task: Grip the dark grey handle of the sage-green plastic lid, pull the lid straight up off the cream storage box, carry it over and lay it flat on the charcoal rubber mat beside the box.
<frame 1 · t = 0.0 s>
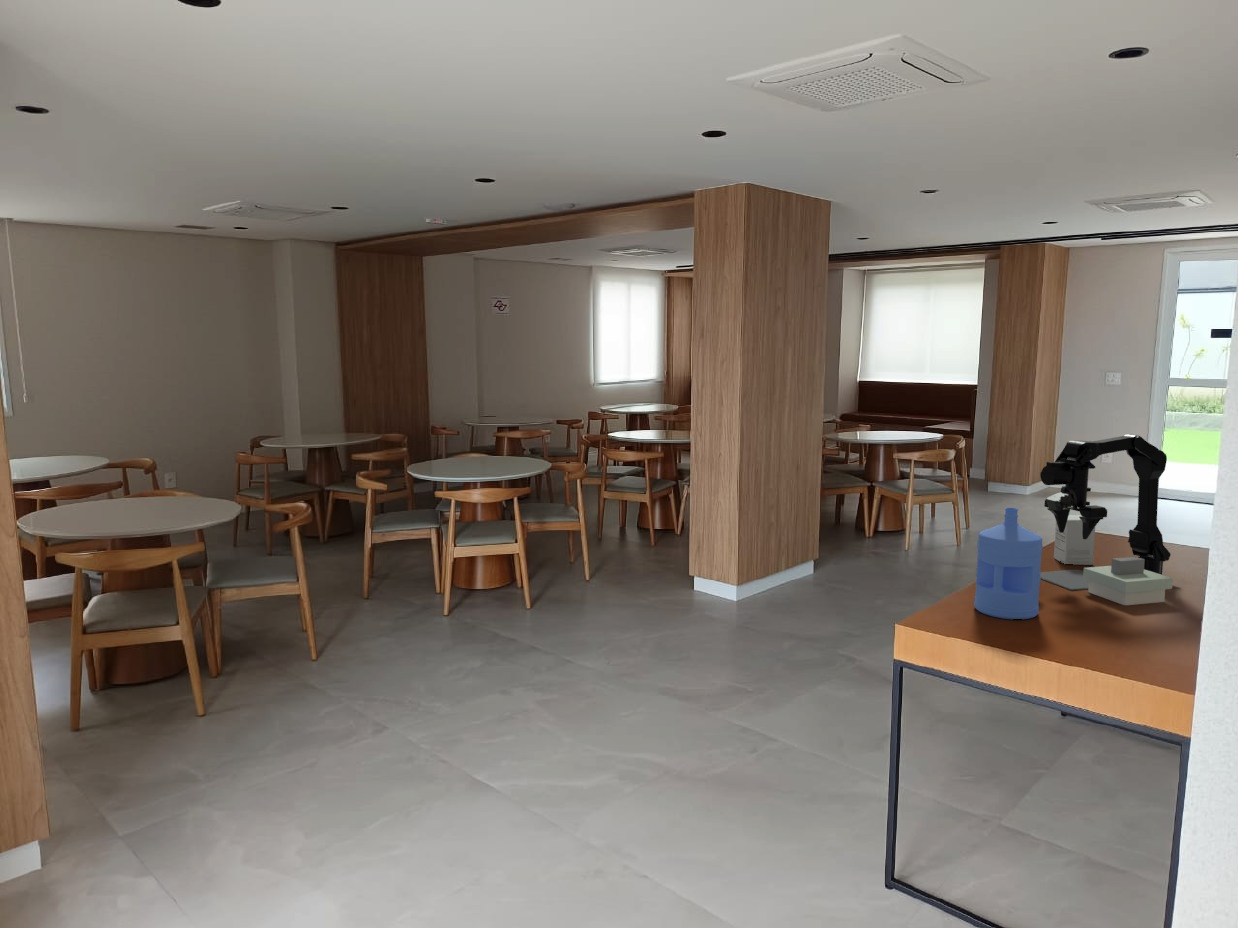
hand: (1072, 535, 246), 15 cm above the table, tool pointing down, fingers open, 9 cm apart
storage box: (1125, 596, 235), on the table
supplement box: (1072, 562, 274), on the table
mat: (1074, 580, 252), on the table
lid: (1126, 583, 234), point 4 cm above the table, touching storage box
water jug: (1005, 612, 223), on the table
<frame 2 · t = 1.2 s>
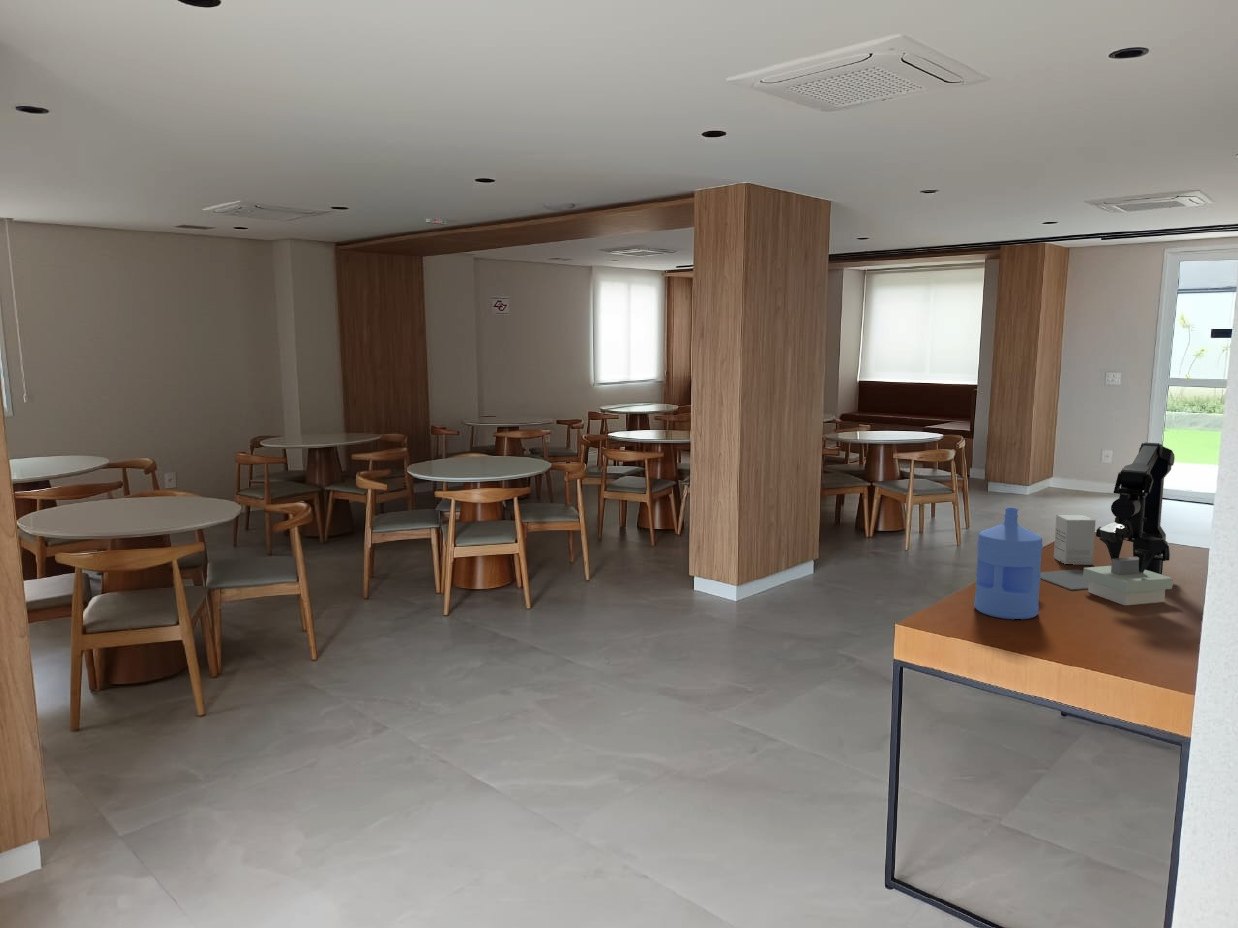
hand: (1127, 567, 234), 8 cm above the table, tool pointing down, fingers open, 9 cm apart
nothing on the table moved.
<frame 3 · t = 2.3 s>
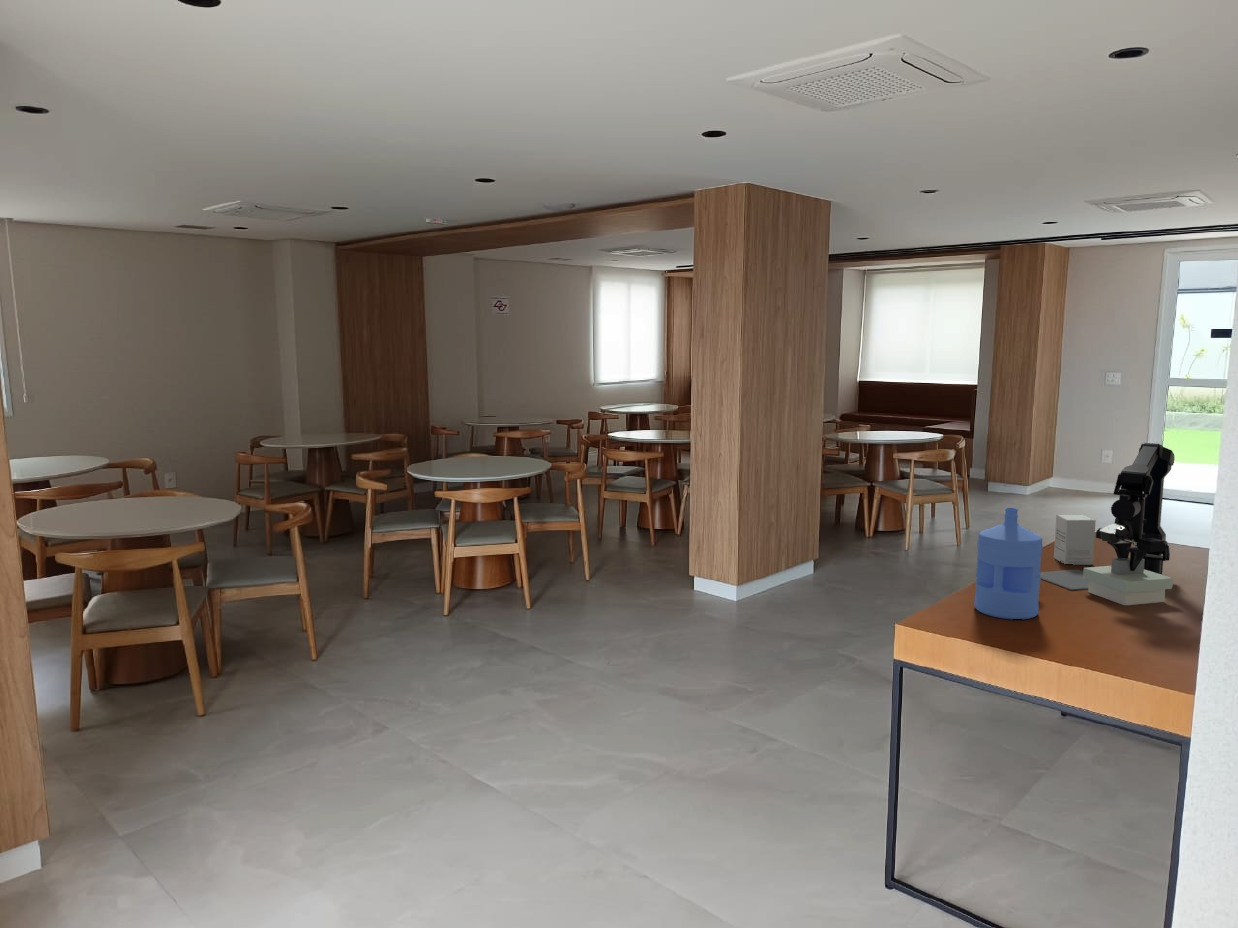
hand: (1127, 569, 234), 8 cm above the table, tool pointing down, fingers closed on lid, 3 cm apart
lid: (1126, 583, 234), point 4 cm above the table, touching gripper, storage box
everything else where it was.
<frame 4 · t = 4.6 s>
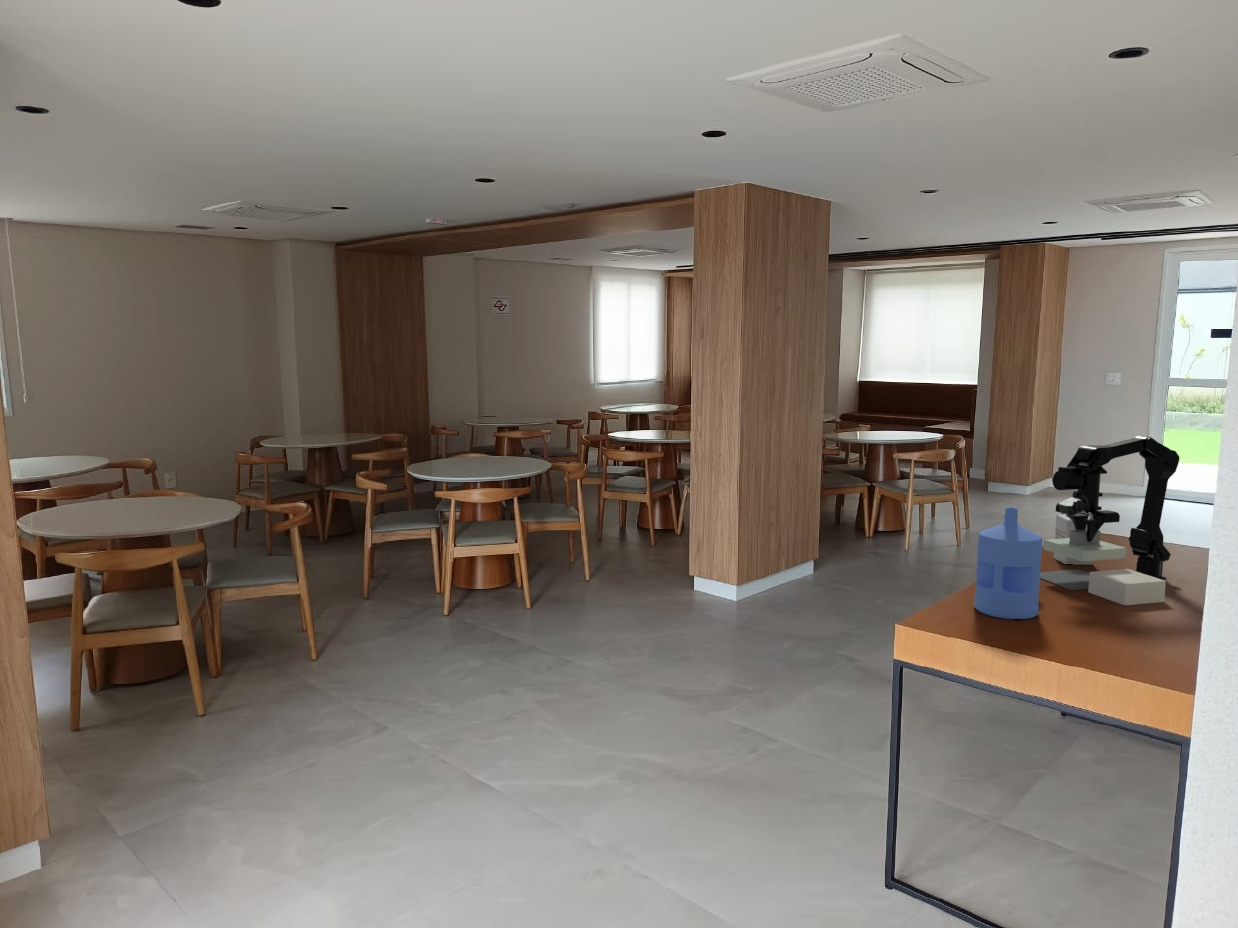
hand: (1084, 540, 248), 13 cm above the table, tool pointing down, fingers closed on lid, 3 cm apart
lid: (1083, 553, 248), point 9 cm above the table, touching gripper
everything else where it was.
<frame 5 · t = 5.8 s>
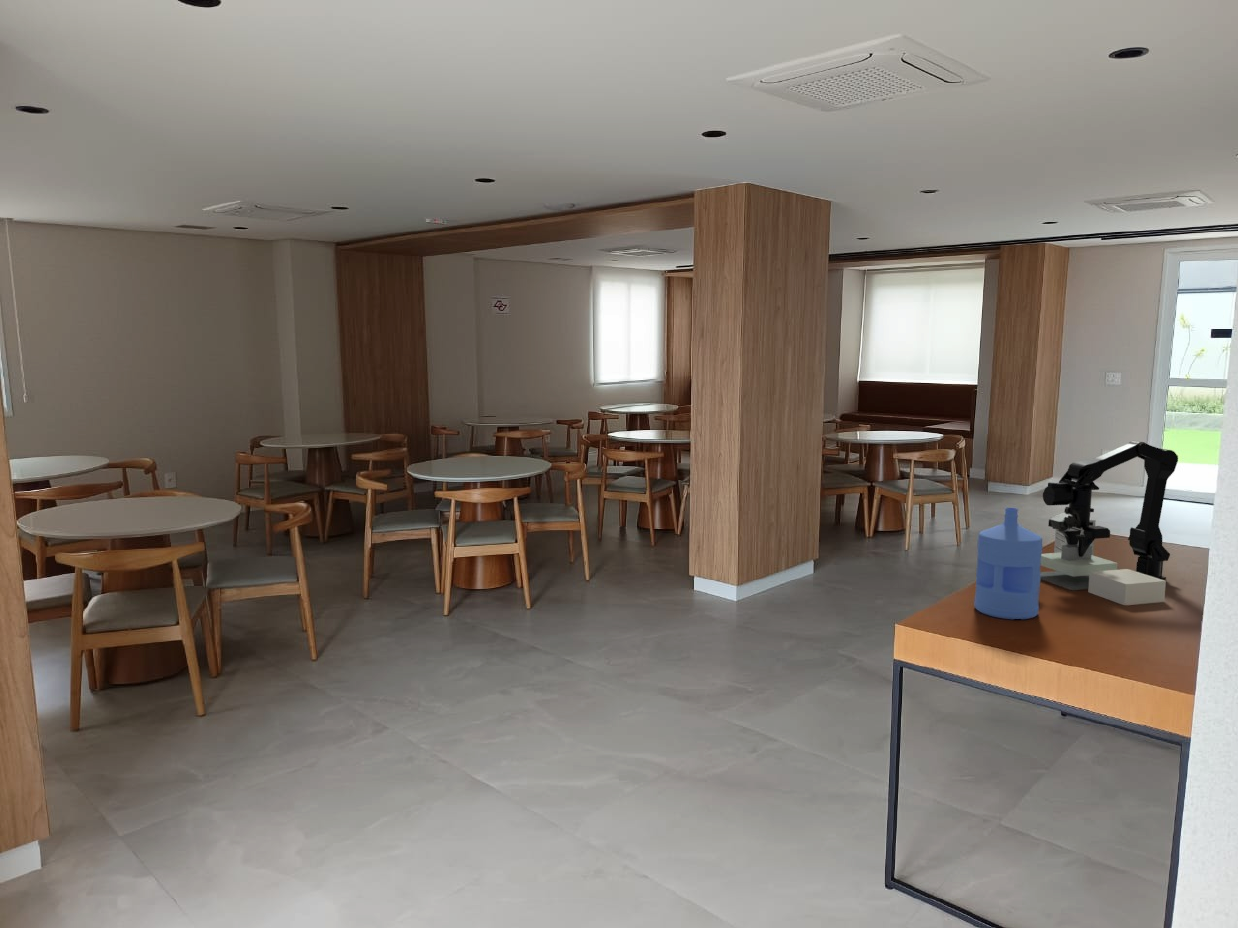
hand: (1076, 555, 251), 8 cm above the table, tool pointing down, fingers closed on lid, 3 cm apart
lid: (1075, 568, 251), point 4 cm above the table, touching gripper
everything else where it was.
when the fingers open (6 cm above the table, at t = 6.8 s): lid drops 2 cm, resting on mat.
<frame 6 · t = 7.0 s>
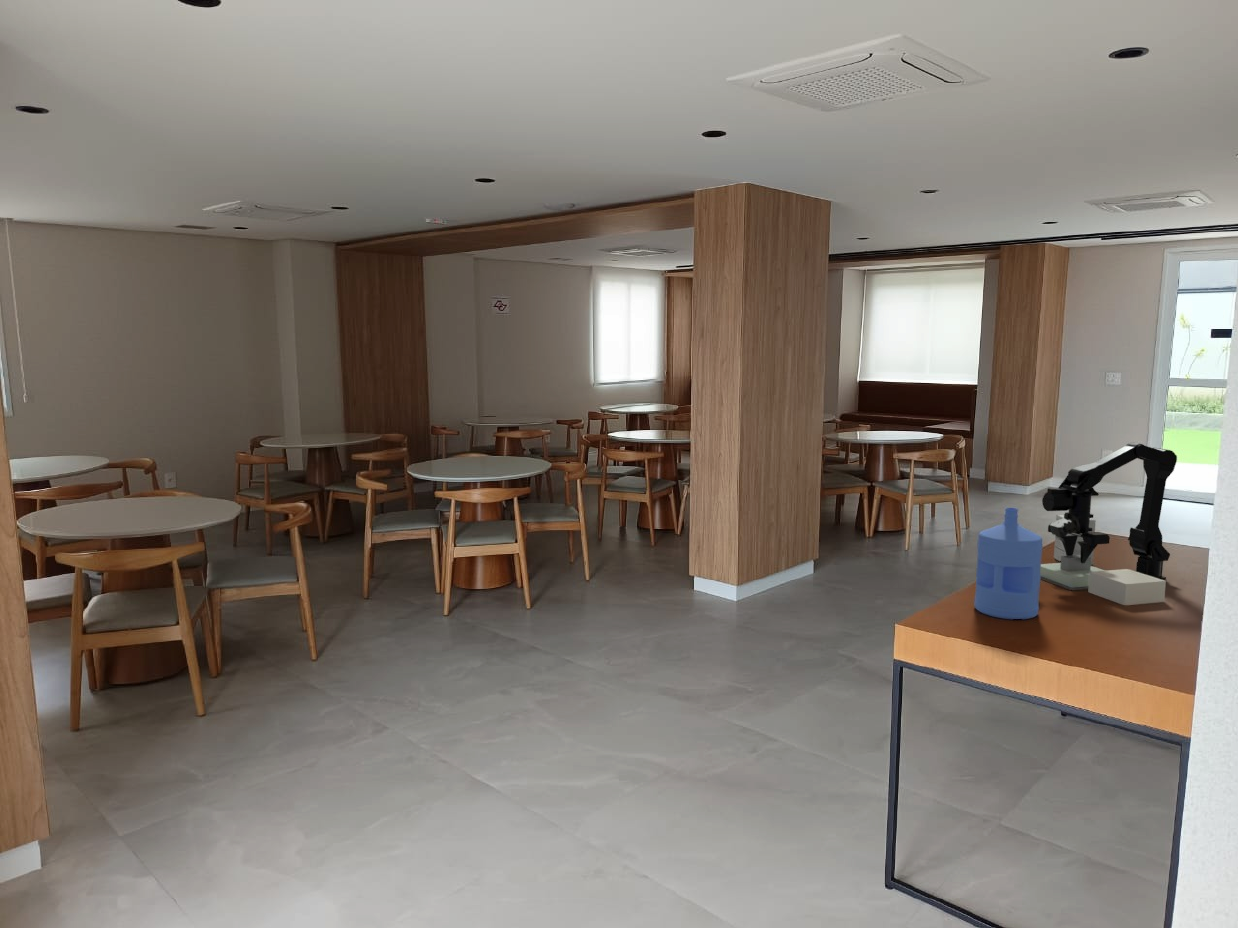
hand: (1076, 560, 251), 6 cm above the table, tool pointing down, fingers open, 5 cm apart
lid: (1074, 578, 252), resting on mat
everything else where it was.
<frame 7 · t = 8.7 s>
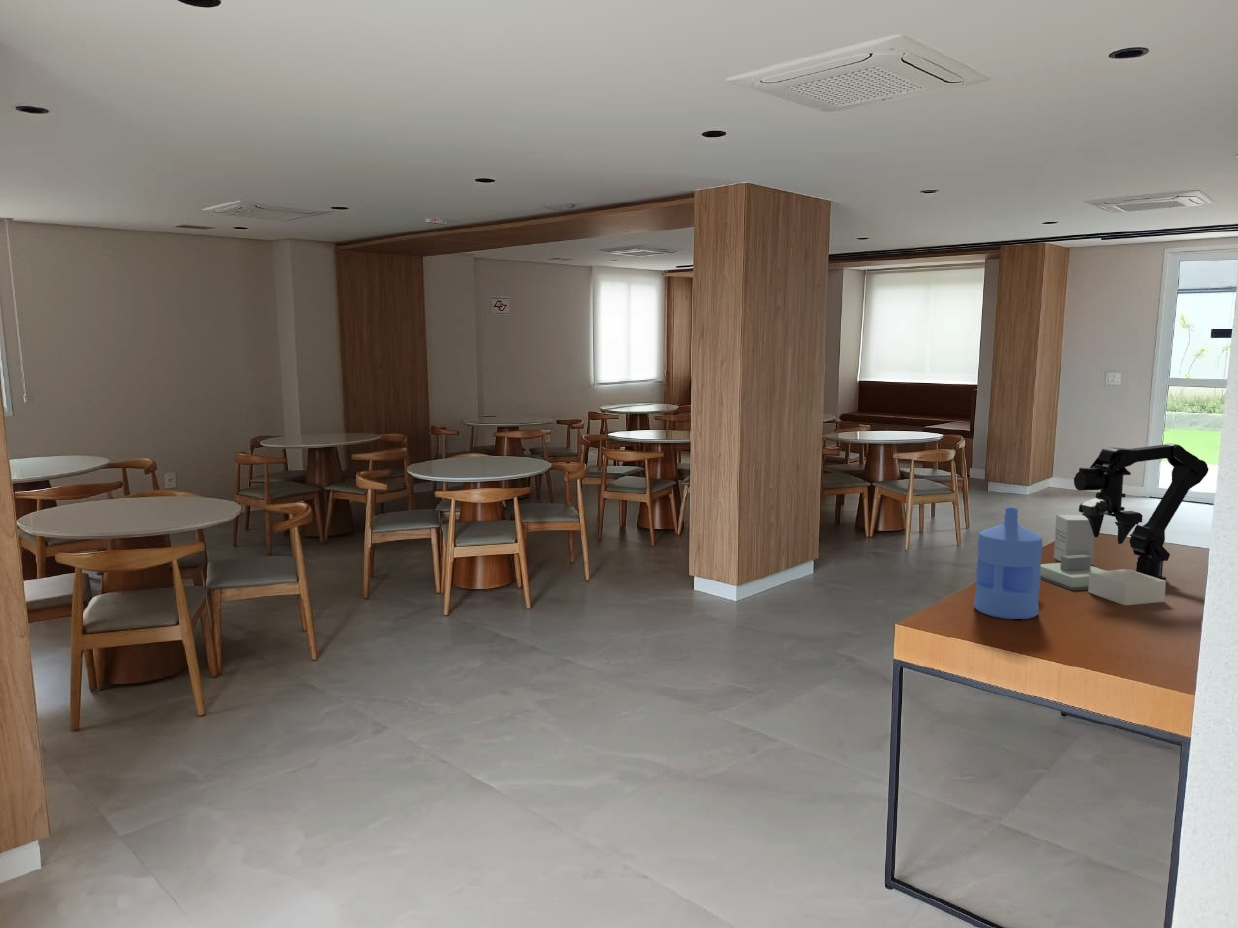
hand: (1107, 540, 252), 12 cm above the table, tool pointing down, fingers open, 9 cm apart
nothing on the table moved.
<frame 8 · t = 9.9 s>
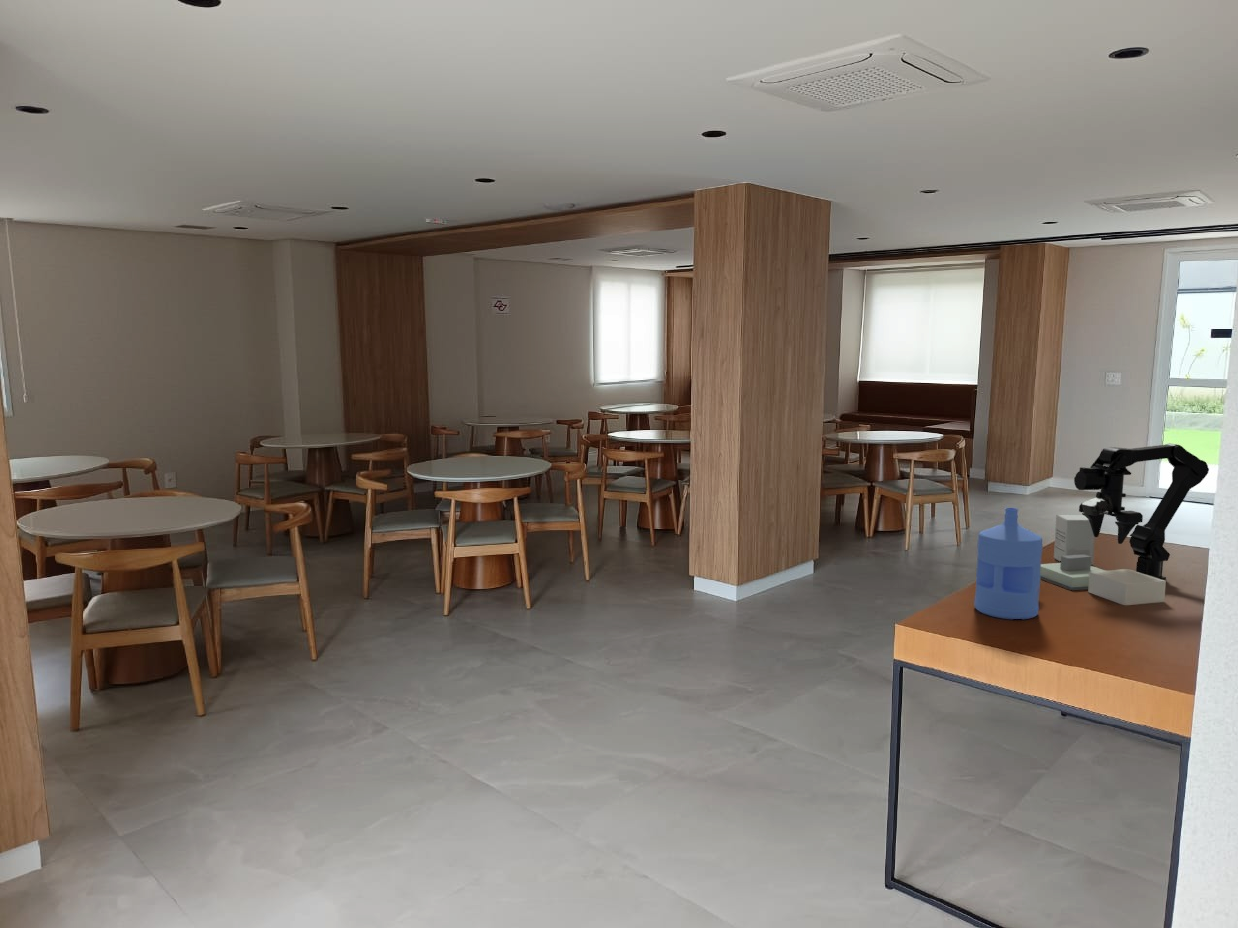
hand: (1107, 540, 252), 12 cm above the table, tool pointing down, fingers open, 9 cm apart
nothing on the table moved.
at the end: lid inside the target area on the mat (0.0 cm from its centre), point 0.4 cm above the mat's base; lid tilted 0°; the gripper is holding nothing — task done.
